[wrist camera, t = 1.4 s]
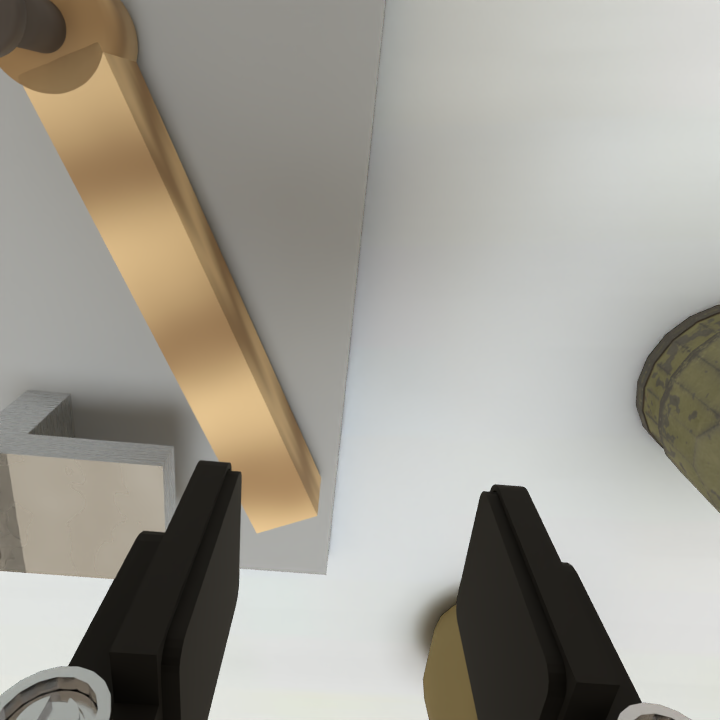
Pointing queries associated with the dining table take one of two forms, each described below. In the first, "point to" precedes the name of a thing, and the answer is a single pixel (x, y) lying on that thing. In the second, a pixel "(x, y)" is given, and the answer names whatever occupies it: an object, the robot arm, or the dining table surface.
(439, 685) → the squeeze bottle
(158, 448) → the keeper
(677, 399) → the olive green pillar
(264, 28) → the base plate
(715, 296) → the dining table surface
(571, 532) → the dining table surface
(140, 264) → the oak link
